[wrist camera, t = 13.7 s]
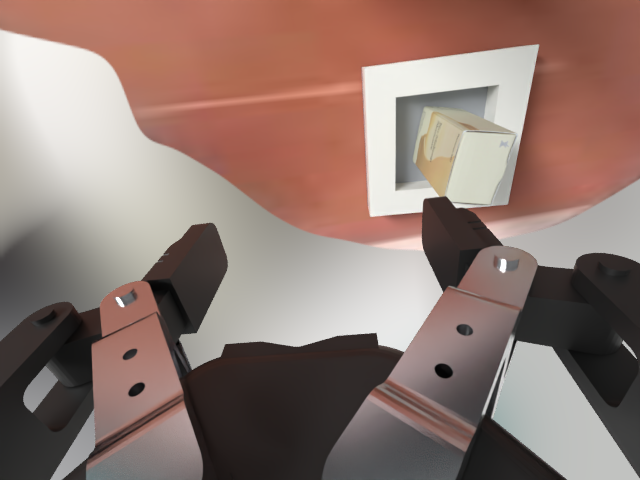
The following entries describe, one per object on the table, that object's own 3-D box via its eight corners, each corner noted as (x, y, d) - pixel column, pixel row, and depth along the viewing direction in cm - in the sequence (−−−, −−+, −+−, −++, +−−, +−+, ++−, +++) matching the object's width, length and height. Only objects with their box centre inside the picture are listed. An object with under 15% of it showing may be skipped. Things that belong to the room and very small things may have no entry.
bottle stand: (361, 67, 33) (364, 67, 30) (519, 46, 31) (539, 44, 28) (367, 205, 41) (370, 216, 38) (494, 193, 39) (507, 204, 36)
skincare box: (422, 105, 34) (463, 124, 23) (462, 108, 34) (522, 128, 23) (410, 163, 37) (441, 204, 26) (447, 166, 37) (492, 208, 26)
